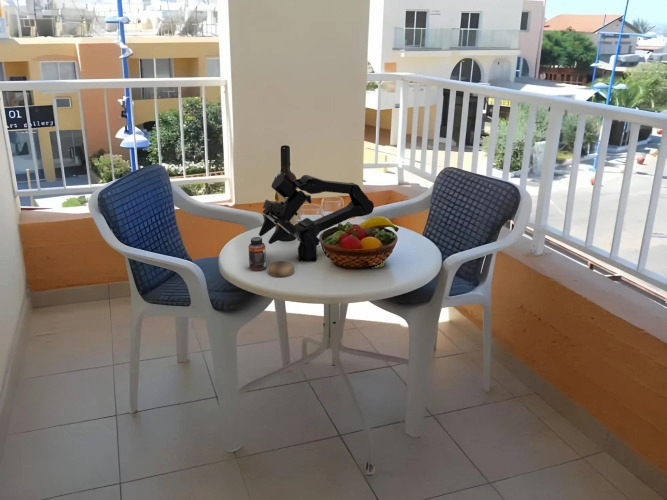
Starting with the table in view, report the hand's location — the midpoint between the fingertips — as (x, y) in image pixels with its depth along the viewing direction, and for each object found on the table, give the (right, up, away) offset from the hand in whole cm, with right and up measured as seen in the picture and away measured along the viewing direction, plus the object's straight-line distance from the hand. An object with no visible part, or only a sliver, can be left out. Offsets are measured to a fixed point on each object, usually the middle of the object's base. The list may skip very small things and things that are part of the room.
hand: (264, 239), depth 205 cm
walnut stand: (+6, -12, -1) cm, 13 cm away
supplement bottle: (-2, -10, +2) cm, 11 cm away
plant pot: (+40, -9, +5) cm, 41 cm away
